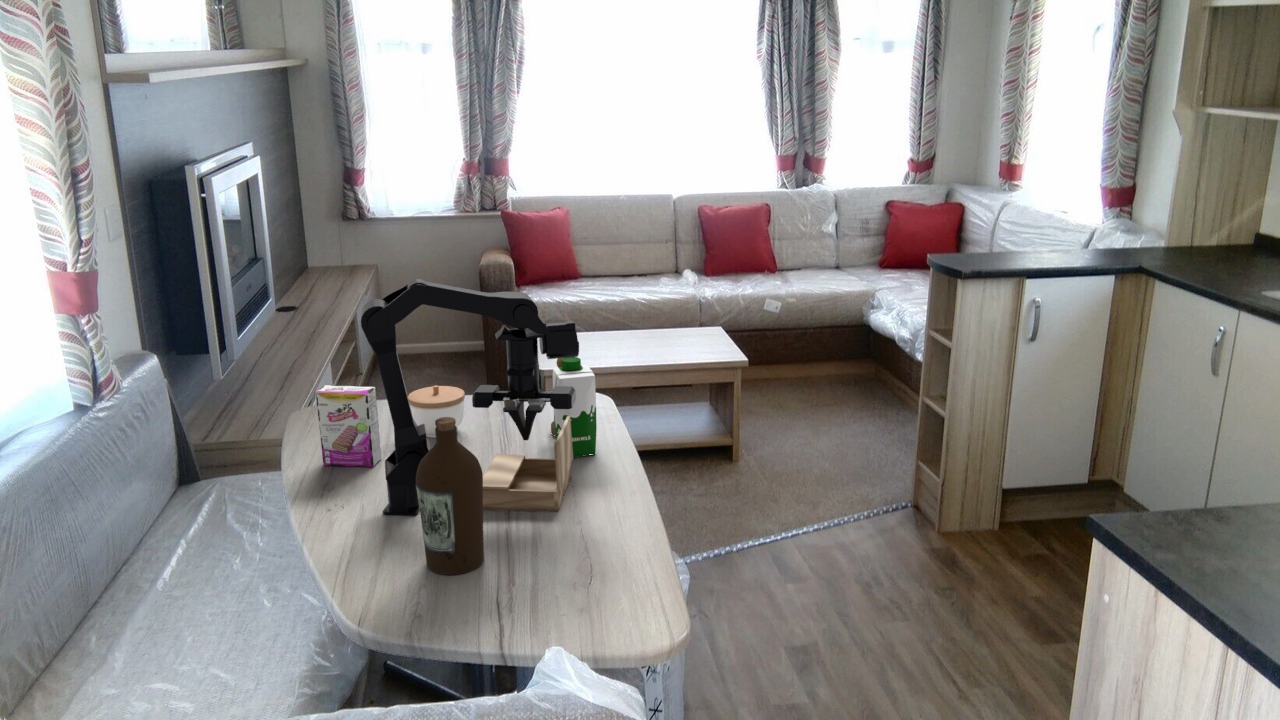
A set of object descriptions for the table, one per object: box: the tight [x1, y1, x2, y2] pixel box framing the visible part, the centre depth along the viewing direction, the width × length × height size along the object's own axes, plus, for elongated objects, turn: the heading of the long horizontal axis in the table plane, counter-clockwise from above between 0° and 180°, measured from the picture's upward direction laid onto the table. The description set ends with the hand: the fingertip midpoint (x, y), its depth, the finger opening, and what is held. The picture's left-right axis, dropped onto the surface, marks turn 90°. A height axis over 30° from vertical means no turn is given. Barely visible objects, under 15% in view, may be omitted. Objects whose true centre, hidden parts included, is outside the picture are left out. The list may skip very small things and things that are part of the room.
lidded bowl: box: [407, 385, 466, 439], centre depth 215 cm, size 13×13×11 cm
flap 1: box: [483, 453, 526, 490], centre depth 183 cm, size 16×6×1 cm, turn 175°
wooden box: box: [483, 457, 572, 512], centre depth 184 cm, size 16×15×4 cm
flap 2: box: [553, 416, 574, 491], centre depth 181 cm, size 16×9×1 cm
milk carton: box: [552, 357, 597, 458], centre depth 202 cm, size 9×9×20 cm
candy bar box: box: [315, 384, 383, 468], centre depth 197 cm, size 11×5×16 cm, turn 84°
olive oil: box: [416, 417, 485, 576], centre depth 154 cm, size 11×11×25 cm
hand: (526, 439), depth 181 cm, fingers closed
